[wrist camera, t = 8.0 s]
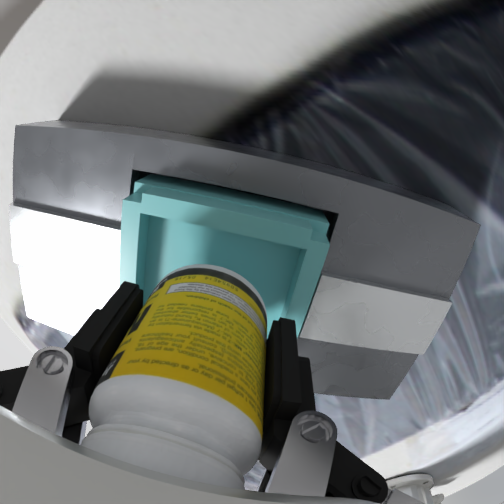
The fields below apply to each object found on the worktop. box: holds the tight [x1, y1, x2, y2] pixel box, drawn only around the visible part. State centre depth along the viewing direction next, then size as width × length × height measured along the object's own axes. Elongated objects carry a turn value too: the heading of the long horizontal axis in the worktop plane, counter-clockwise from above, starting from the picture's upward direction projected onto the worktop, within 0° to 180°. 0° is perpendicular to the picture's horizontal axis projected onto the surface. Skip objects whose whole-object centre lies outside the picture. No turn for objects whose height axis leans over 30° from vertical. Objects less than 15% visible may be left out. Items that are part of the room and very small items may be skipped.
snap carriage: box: [119, 174, 330, 338], centre depth 15 cm, size 8×8×3 cm
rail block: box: [9, 120, 480, 399], centre depth 16 cm, size 24×12×4 cm, turn 78°
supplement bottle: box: [81, 264, 267, 490], centre depth 9 cm, size 5×5×8 cm
